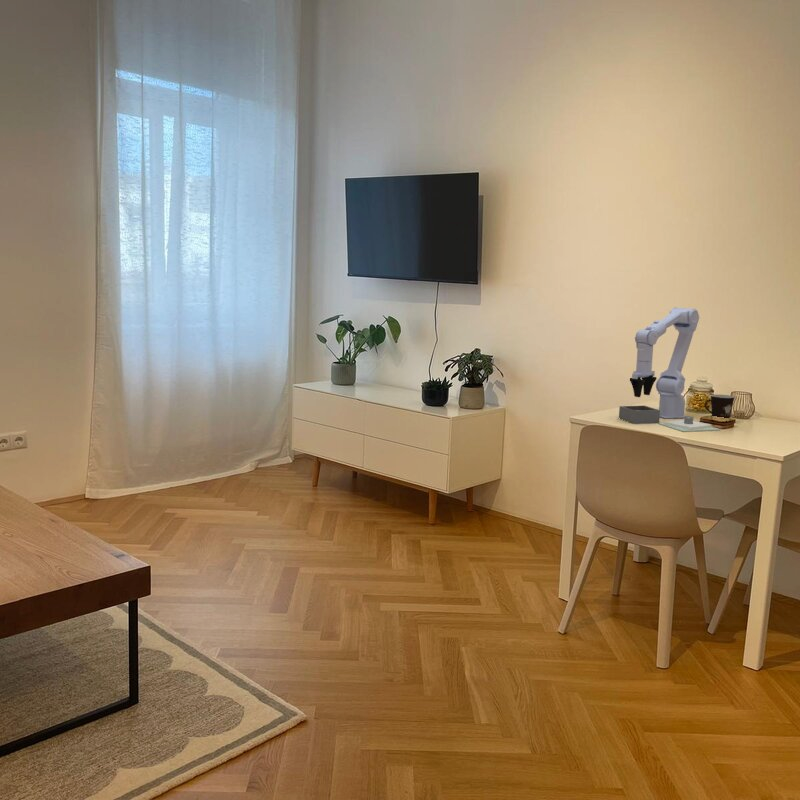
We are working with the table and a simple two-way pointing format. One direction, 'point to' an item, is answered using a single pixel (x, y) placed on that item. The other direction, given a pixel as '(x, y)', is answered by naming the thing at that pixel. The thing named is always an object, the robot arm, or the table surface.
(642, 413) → the box
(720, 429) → the mat
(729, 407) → the coffee mug
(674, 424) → the lid
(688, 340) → the robot arm
